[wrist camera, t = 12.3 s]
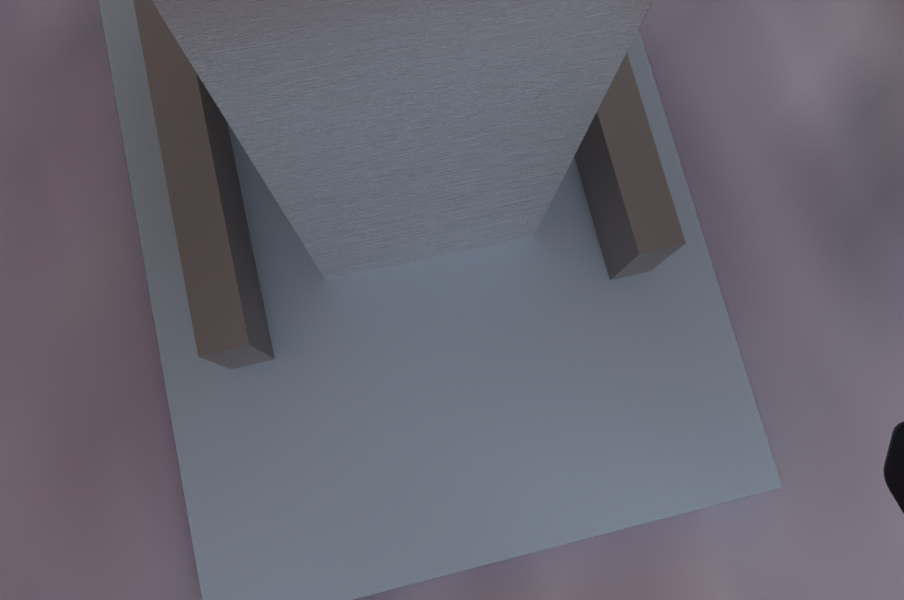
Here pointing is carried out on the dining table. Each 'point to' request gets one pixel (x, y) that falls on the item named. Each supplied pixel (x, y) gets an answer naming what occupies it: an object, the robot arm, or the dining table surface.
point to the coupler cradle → (427, 357)
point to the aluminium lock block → (407, 112)
